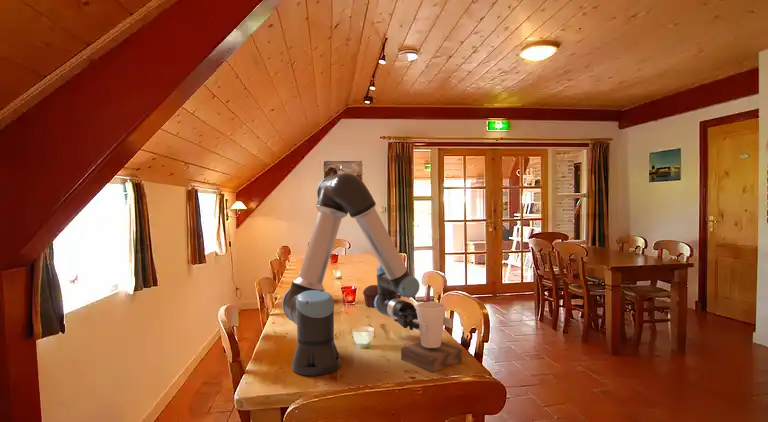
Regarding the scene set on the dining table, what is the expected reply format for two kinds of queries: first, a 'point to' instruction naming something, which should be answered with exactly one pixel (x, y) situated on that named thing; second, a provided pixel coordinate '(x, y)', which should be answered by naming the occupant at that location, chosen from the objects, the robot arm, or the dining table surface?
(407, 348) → the walnut plinth
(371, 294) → the muffin
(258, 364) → the dining table surface
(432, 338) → the foam cup
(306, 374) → the robot arm
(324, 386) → the dining table surface
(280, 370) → the dining table surface
